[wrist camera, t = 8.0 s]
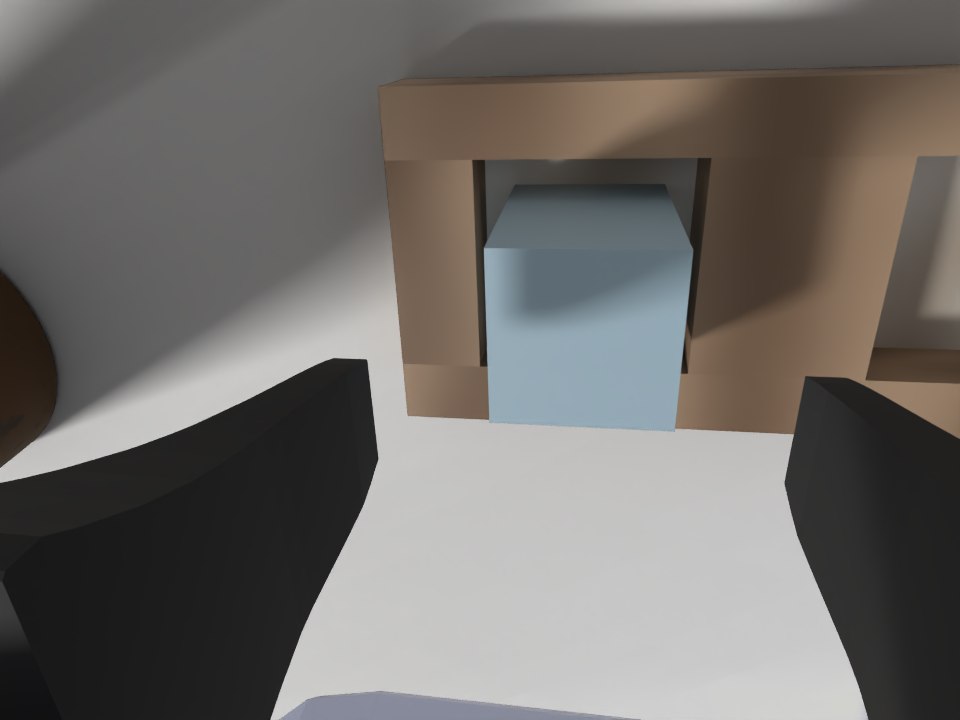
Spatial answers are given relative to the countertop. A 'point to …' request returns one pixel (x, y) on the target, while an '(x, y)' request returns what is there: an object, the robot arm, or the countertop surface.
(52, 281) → the countertop surface
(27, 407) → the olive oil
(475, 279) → the brown wooden flat block
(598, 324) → the peg
